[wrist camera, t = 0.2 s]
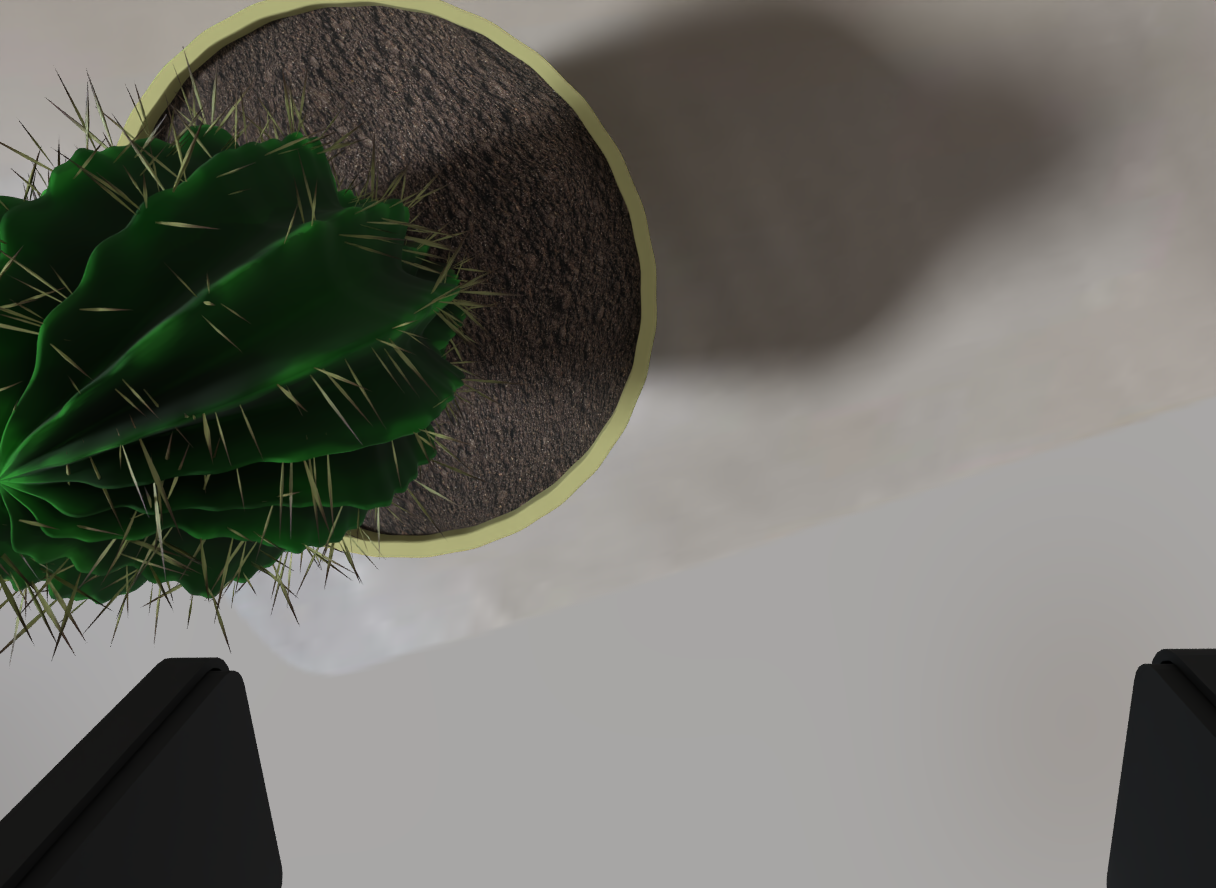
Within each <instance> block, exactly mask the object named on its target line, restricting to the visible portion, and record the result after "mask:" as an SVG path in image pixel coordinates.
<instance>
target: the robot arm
mask: <svg viewBox="0 0 1216 888" xmlns="http://www.w3.org/2000/svg"><path fill="white" fill-rule="evenodd" d="M281 886H282V865H281V860H280V856H279V851H278V846H277V841H276V836H275V831H274V826H273V821H272V818H271V812H270V807H269V802H268V797H267V792H266V788H265V783H264V778H263V773H262V768H261V763H260V758H259V754H258V749H257V744H256V739H255V734H254V729H253V724H252V719H251V715H250V710H249V705H248V700H247V695H246V691H245V685H244V682H243V679H242V677H241V675H240V674H239V673H238V672H236V671H229V668H228V666H227V664H226V663H225V662H224V660H222V659H220V658H218V657H217V658H167V659H164V660H163V661H161V662H160V663H158V664H157V665H156V666H155V667H154V668H153V669H152V670H151V671H150V672H149V673H148V674H147V675H146V677H144V678H143V679H142V680H141V681H140V682H139V683H138V684H137V685H136V686H135V687H134V688H133V689H132V690H131V691H130V692H129V693H128V694H127V695H126V696H125V697H124V698H123V699H122V700H121V701H120V702H119V703H118V704H117V705H116V706H115V707H114V708H113V709H112V710H111V711H110V712H109V713H108V714H107V715H106V716H105V717H104V718H103V719H102V720H101V721H100V722H99V723H98V724H97V725H96V726H95V727H94V728H93V729H92V730H91V731H90V732H89V733H88V734H87V735H86V736H85V737H84V738H83V739H82V740H81V741H80V742H79V743H78V744H77V745H76V746H75V747H74V748H73V749H72V750H71V751H70V752H69V753H68V754H67V755H66V756H65V757H64V758H63V759H62V760H61V761H60V762H59V763H58V764H57V765H56V766H55V767H54V768H53V769H52V770H51V771H50V772H49V773H48V774H47V775H46V776H45V777H44V778H43V779H42V780H41V781H40V782H39V783H38V784H37V785H36V786H35V787H34V788H33V789H32V790H31V791H30V792H29V793H28V794H27V795H26V796H25V797H24V798H23V799H22V800H21V801H20V802H19V803H18V804H17V805H16V806H15V807H14V808H13V809H12V810H11V811H10V812H9V813H8V814H7V815H6V816H5V817H4V818H3V819H2V820H1V821H0V888H281ZM1107 888H1216V649H1163V650H1161V651H1159V652H1157V654H1156V655H1155V657H1154V659H1153V661H1152V664H1143V665H1141V666H1139V668H1138V670H1137V671H1136V675H1135V679H1134V686H1133V694H1132V701H1131V707H1130V714H1129V721H1128V729H1127V736H1126V743H1125V750H1124V757H1123V765H1122V772H1121V779H1120V786H1119V794H1118V800H1117V808H1116V815H1115V822H1114V829H1113V836H1112V843H1111V850H1110V858H1109V865H1108V872H1107Z"/></svg>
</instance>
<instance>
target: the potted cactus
mask: <svg viewBox="0 0 1216 888" xmlns="http://www.w3.org/2000/svg"><path fill="white" fill-rule="evenodd" d="M86 71H87V70H86ZM56 72H57V71H56ZM57 74H58V73H57ZM87 74H88V73H87ZM58 76H59V74H58ZM59 78H60V76H59ZM88 78H89V75H88ZM60 80H61V78H60ZM89 81H90V84H91V88H92V91H93V94H94V98H95V101H96V104H97V107H96V108H97V109H98V111H99V114H100V117H101V119H102V122H103V124H104V127H105V129H106V132H107V134H108V137H109V139H110V142H111V144H112V140H111V137H110V134H109V130H108V127H107V124H106V120H105V117H104V115H105V116H107V115H106V114H104V113H103V111H102V108H101V106H100V103H99V101H98V98H97V96H96V93H95V91H94V88H93V85H92V83H91V80H90V78H89ZM61 82H62V80H61ZM62 84H63V82H62ZM63 86H64V84H63ZM135 86H136V85H135ZM64 88H65V90H66V92H67V94H68V96H69V98H70V100H71V102H72V104H73V106H74V108H75V111H76V113H77V115H78V117H79V119H80V121H81V123H82V125H83V126H82V125H81V124H79V123H78V122H77V121H75V120H74V119H73V118H72V117H70V116H69V115H68V114H66V113H65V112H64V111H62V110H61V109H60V108H59V107H57V106H56V105H55V104H53V103H52V102H51V101H50V102H51V103H52V104H53V105H54V106H55V107H57V108H58V109H59V110H60V111H61V112H62V113H63V114H64V115H66V116H67V117H68V118H69V119H70V120H71V121H72V122H73V123H75V124H76V125H77V126H78V127H79V128H80V129H81V130H82V131H84V132H85V133H86V148H87V149H86V148H79V149H78V148H77V149H78V150H76V151H75V153H74V155H73V156H72V157H71V159H69V158H67V157H66V156H64V155H63V156H64V157H66V158H67V159H68V161H67V162H66V161H65V163H64V164H61V165H60V154H61V153H60V148H59V146H58V151H57V152H58V166H57V167H54V170H52V169H50V168H48V167H46V166H45V165H43V164H41V163H39V162H38V157H39V153H40V150H41V151H42V153H43V154H44V155H45V153H44V152H43V150H42V149H41V148H40V146H39V145H38V143H37V142H36V141H35V140H34V138H33V137H32V136H31V135H30V133H29V132H28V131H27V130H26V128H25V127H24V126H23V125H22V126H23V127H24V128H25V130H26V131H27V133H28V134H29V135H30V137H31V138H32V140H33V141H34V142H35V144H36V145H37V146H38V148H39V149H40V150H39V153H38V156H37V159H36V160H34V159H33V158H31V157H29V156H27V155H25V154H23V153H21V152H19V151H17V150H15V149H13V148H11V147H9V146H7V145H5V144H3V143H1V142H0V144H2V145H3V146H5V147H7V148H9V149H10V150H12V151H14V152H16V153H18V154H19V155H21V156H23V157H25V158H26V159H28V160H30V161H31V162H34V163H35V164H33V165H34V167H33V170H32V172H31V175H30V178H29V181H28V182H27V181H26V180H25V179H24V178H22V177H21V176H20V175H19V174H17V173H16V172H15V171H14V170H13V171H14V172H15V173H16V174H17V175H18V176H19V177H20V178H22V179H23V180H24V181H25V182H26V183H27V184H28V185H27V189H26V190H25V187H24V190H25V196H24V200H23V199H19V198H15V197H9V196H0V583H1V587H0V590H1V588H3V590H4V592H5V594H6V597H7V600H6V601H4V602H3V603H2V604H1V605H0V609H1V608H2V607H3V606H4V605H5V604H6V603H7V602H8V601H9V602H10V604H11V606H12V607H13V609H14V611H15V612H16V614H17V616H18V617H17V621H16V627H15V633H14V638H13V639H12V640H11V641H10V642H9V643H8V644H7V645H6V646H5V647H4V648H3V649H2V650H1V651H0V653H2V652H3V651H4V650H5V649H6V648H7V647H9V645H11V644H12V643H13V646H12V652H13V647H14V642H15V640H17V638H19V637H20V636H21V635H22V634H23V633H24V632H27V633H28V635H29V637H30V639H31V636H30V634H29V632H28V629H29V628H30V627H31V626H32V625H33V624H34V623H35V622H36V621H37V620H38V619H39V618H40V617H41V616H42V618H43V620H44V622H45V624H46V625H47V627H48V629H49V631H50V633H51V635H52V636H53V634H52V631H51V629H50V627H49V625H48V622H47V620H46V618H45V616H44V613H45V612H47V614H48V615H49V617H50V618H51V620H52V621H53V623H54V624H55V626H56V627H57V629H58V630H59V632H60V633H59V636H58V640H57V643H56V647H55V651H56V648H57V646H58V643H59V641H60V638H61V635H62V636H63V638H64V639H65V641H66V642H67V644H68V645H69V647H70V648H71V646H70V644H69V642H68V640H67V638H66V637H65V635H64V633H63V630H64V627H65V625H66V622H67V620H68V617H69V618H70V619H71V621H72V622H73V624H74V625H75V627H76V628H77V629H78V631H79V632H80V634H81V635H82V633H81V631H80V630H79V628H78V626H77V624H76V622H75V621H74V619H73V617H72V615H71V613H73V611H75V610H76V609H77V608H78V607H80V606H81V605H82V604H83V603H84V602H85V601H86V600H87V599H91V600H92V601H94V602H95V603H96V604H100V605H102V606H103V604H102V603H105V602H107V601H109V600H110V602H109V603H108V604H107V605H106V606H104V607H105V608H104V609H103V610H102V611H101V613H100V614H99V615H98V616H97V617H96V619H97V618H98V617H99V616H100V615H101V614H102V612H103V611H104V610H105V609H106V608H107V607H108V606H109V605H110V604H111V603H112V601H113V600H114V599H115V598H116V597H117V596H118V595H122V594H126V595H125V598H124V600H123V603H122V605H121V608H122V609H121V608H120V610H121V611H119V613H120V614H119V613H118V614H119V617H118V621H117V624H116V628H115V632H116V629H117V626H118V623H119V620H120V617H121V613H122V610H123V606H124V603H125V600H126V598H127V610H128V594H129V593H130V592H132V591H135V590H137V589H138V588H139V587H140V586H142V585H143V584H144V583H145V582H146V581H147V580H148V581H149V582H152V583H154V584H156V583H157V584H158V585H159V587H160V589H159V595H158V597H157V598H156V599H154V600H152V601H151V598H152V591H151V597H150V602H149V603H150V605H151V602H153V601H155V600H157V599H158V601H157V611H156V625H155V634H156V627H157V619H158V611H159V604H160V598H161V597H163V596H165V597H166V599H167V601H168V603H169V604H170V602H169V600H168V598H167V594H169V593H170V594H171V592H173V591H175V590H177V589H178V588H180V587H182V586H183V587H184V588H185V589H186V590H187V591H188V592H189V593H190V594H191V595H200V596H203V597H206V598H208V600H209V598H213V601H214V605H215V609H216V615H217V616H218V620H219V623H220V626H221V628H222V631H223V634H224V636H225V639H226V642H227V644H228V640H227V636H226V633H225V629H224V625H223V622H222V619H221V616H220V614H219V611H218V607H219V603H220V598H221V594H222V590H223V589H224V588H225V587H226V586H227V585H228V584H229V583H230V584H231V583H232V581H233V580H234V581H237V585H238V582H239V583H244V584H245V583H246V582H248V583H249V585H250V586H251V588H252V589H253V587H252V585H251V583H250V581H249V579H250V578H251V577H252V576H253V575H254V574H255V573H256V572H257V571H258V570H260V571H262V572H264V573H266V574H268V575H270V576H271V577H272V578H273V579H274V580H275V582H274V587H275V583H276V581H277V582H278V586H277V590H276V595H275V599H274V603H275V600H276V596H277V593H278V589H279V586H281V588H282V591H283V593H284V595H285V598H286V600H287V605H288V604H289V606H290V608H291V610H292V612H293V614H294V616H295V618H296V615H295V613H294V610H293V606H292V604H291V602H290V599H289V596H288V595H289V591H290V590H289V585H290V576H291V570H292V569H291V563H292V553H295V554H299V553H301V562H302V555H303V551H304V550H305V549H307V550H308V552H309V553H310V555H311V556H312V554H311V552H312V553H314V555H313V556H312V559H311V561H310V564H309V566H308V569H307V571H306V573H305V576H304V578H303V580H302V583H303V581H304V579H305V577H306V575H307V573H308V571H309V569H310V567H311V564H312V562H313V560H314V561H315V559H314V558H315V556H316V558H317V557H319V558H320V559H321V560H323V561H324V562H326V563H327V564H328V567H327V574H326V580H327V576H328V572H329V568H330V566H332V567H333V568H335V569H336V570H337V571H339V570H338V569H337V568H336V567H334V566H333V565H332V564H331V562H333V563H335V564H337V565H339V566H341V567H343V566H342V565H340V564H338V563H336V562H335V561H333V560H332V556H333V551H334V549H335V550H337V551H340V550H341V551H340V552H342V551H344V552H343V553H345V555H346V557H347V559H348V561H349V563H350V564H351V566H352V568H353V569H354V571H355V574H356V576H357V578H358V577H359V576H358V574H357V572H356V570H355V567H354V564H353V561H352V558H353V556H352V558H351V555H350V553H349V552H352V553H357V554H361V555H365V556H366V557H367V556H373V557H379V560H380V557H409V558H423V557H432V556H438V555H443V554H448V553H454V552H460V551H466V550H471V549H474V548H478V547H481V546H483V545H486V544H488V543H491V542H493V541H496V540H498V539H501V538H504V537H506V536H509V535H512V534H514V533H516V532H518V531H520V530H522V529H524V528H526V527H527V526H529V525H530V524H532V523H533V522H535V521H536V520H538V519H540V518H541V517H543V516H544V515H546V514H548V513H549V512H551V511H552V510H554V509H556V508H557V507H558V506H560V505H561V504H562V503H564V502H565V501H566V500H567V499H568V498H569V497H570V496H571V495H572V494H573V493H574V492H575V491H576V490H577V489H578V488H579V487H580V486H581V485H582V484H583V483H584V482H585V481H586V480H587V479H588V478H589V477H591V476H592V475H593V474H594V472H595V471H596V470H597V469H598V468H599V467H600V465H601V464H602V462H603V461H604V459H605V458H606V456H607V455H608V453H609V452H610V450H611V449H612V447H613V446H614V444H615V443H616V441H617V440H618V439H619V437H620V436H621V434H622V433H623V431H624V429H625V428H626V426H627V424H628V422H629V419H630V417H631V414H632V412H633V409H634V407H635V404H636V402H637V399H638V397H639V395H640V393H641V390H642V388H643V385H644V383H645V380H646V376H647V373H648V368H649V362H650V356H651V350H652V346H653V341H654V336H655V331H656V323H657V303H656V264H655V258H654V253H653V249H652V244H651V240H650V235H649V230H648V224H647V219H646V215H645V211H644V208H643V205H642V202H641V200H640V197H639V195H638V193H637V190H636V188H635V186H634V184H633V181H632V179H631V176H630V174H629V171H628V169H627V166H626V164H625V161H624V159H623V157H622V155H621V153H620V151H619V149H618V148H617V146H616V145H615V143H614V142H613V140H612V139H611V137H610V136H609V134H608V133H607V131H606V130H605V129H604V127H603V126H602V124H601V123H600V121H599V119H598V118H597V116H596V115H595V113H594V112H593V110H592V109H591V107H590V106H589V104H588V103H587V102H586V100H585V99H584V98H583V97H582V96H581V95H580V94H579V93H578V92H577V91H576V90H575V89H574V88H573V87H572V86H571V85H570V84H569V83H568V82H567V81H566V80H565V79H564V78H563V77H562V76H561V75H560V74H559V73H558V72H557V71H556V70H555V69H554V68H553V67H552V66H551V65H550V64H549V63H548V62H547V61H546V60H545V59H544V58H543V57H542V56H541V55H539V54H538V53H537V52H535V51H534V50H533V49H531V48H530V47H528V46H526V45H525V44H523V43H522V42H520V41H519V40H517V39H516V38H514V37H513V36H511V35H510V34H508V33H507V32H506V31H504V30H503V29H501V28H500V27H498V26H497V25H495V24H494V23H492V22H490V21H488V20H486V19H484V18H482V17H480V16H478V15H475V14H472V13H470V12H467V11H465V10H462V9H460V8H457V7H455V6H452V5H450V4H448V3H446V2H443V1H441V0H265V1H262V2H259V3H256V4H253V5H251V6H249V7H247V8H245V9H243V10H241V11H240V12H238V13H236V14H234V15H233V16H231V17H229V18H227V19H225V20H223V21H221V22H219V23H218V24H216V25H214V26H212V27H210V28H209V29H207V30H205V31H204V32H203V33H201V34H200V35H199V36H198V37H196V38H195V39H194V40H193V41H192V42H191V43H190V44H189V45H188V46H187V47H186V48H185V49H184V48H183V50H182V51H181V52H180V53H179V54H178V55H177V56H175V57H174V58H173V59H172V60H171V61H170V62H169V63H168V64H166V65H165V66H164V68H163V69H162V70H161V71H160V72H159V73H158V75H157V76H156V77H155V79H154V80H153V82H152V83H151V85H150V86H149V88H148V89H147V91H146V92H145V93H144V95H143V96H142V98H141V99H140V97H139V94H138V91H137V94H138V99H139V102H138V103H137V104H136V106H135V103H134V101H133V99H132V97H131V95H130V97H131V99H132V101H133V104H134V106H135V107H134V109H133V110H132V112H131V114H130V116H129V118H128V120H127V122H126V124H125V126H124V128H122V126H121V125H120V124H119V122H118V121H117V120H116V121H117V123H118V124H117V123H116V122H115V121H113V120H112V119H111V118H110V117H108V116H107V117H108V118H109V119H110V120H111V121H112V122H113V123H115V124H116V125H117V126H118V127H119V128H120V129H121V130H122V134H121V136H120V139H119V141H118V144H117V146H113V144H112V146H111V144H110V143H109V141H108V139H107V138H106V136H105V139H106V140H107V142H108V144H109V146H110V147H109V148H108V147H107V146H106V145H105V144H104V143H103V142H104V141H103V142H101V141H100V140H99V139H98V138H97V137H96V136H94V135H93V134H92V133H91V132H90V131H89V99H88V82H87V100H86V119H85V123H84V121H83V119H82V117H81V115H80V113H79V111H78V110H77V108H76V106H75V104H74V102H73V100H72V98H71V97H70V95H69V93H68V91H67V89H66V87H65V86H64ZM127 90H128V89H127ZM136 90H137V88H136ZM128 92H129V91H128ZM129 94H130V93H129ZM45 98H46V97H45ZM46 99H47V98H46ZM112 115H113V114H112ZM114 118H115V117H114ZM115 119H116V118H115ZM19 122H20V121H19ZM20 123H21V122H20ZM21 124H22V123H21ZM85 125H86V126H85ZM104 135H105V134H104ZM88 138H90V140H91V142H92V144H93V146H94V143H93V141H92V139H93V140H95V141H96V142H97V143H99V144H100V145H99V146H98V148H97V149H96V148H95V146H94V148H95V151H93V150H89V149H88ZM91 138H92V139H91ZM105 139H104V140H105ZM74 145H75V144H74ZM100 146H103V147H104V148H105V150H104V151H101V152H99V151H97V150H98V149H99V147H100ZM51 148H52V147H51ZM54 150H55V149H54ZM61 155H62V154H61ZM45 156H46V155H45ZM46 158H47V159H48V157H47V156H46ZM48 160H49V159H48ZM49 161H50V160H49ZM50 163H51V162H50ZM37 164H38V165H40V166H42V167H44V168H46V169H48V187H47V189H46V190H44V191H43V193H42V194H41V193H40V192H38V191H37V189H36V187H35V185H34V181H35V177H34V173H35V175H36V172H35V169H36V170H37V168H36V165H37ZM51 164H52V163H51ZM52 165H53V164H52ZM49 170H50V171H52V173H51V176H50V179H49ZM37 171H38V170H37ZM38 173H39V172H38ZM39 175H40V173H39ZM28 176H29V175H28ZM40 176H41V175H40ZM33 177H34V181H33ZM41 178H42V176H41ZM42 180H43V178H42ZM32 181H33V182H32ZM43 181H44V180H43ZM31 183H33V185H32V184H31ZM44 183H45V181H44ZM23 184H24V183H23ZM45 184H46V183H45ZM46 186H47V185H46ZM30 187H31V188H32V190H31V195H30V200H31V196H32V192H33V196H34V200H32V201H28V197H27V194H28V192H29V189H30ZM34 187H35V188H34ZM34 190H35V191H37V193H38V195H39V197H40V198H38V199H37V198H36V195H35V192H34ZM40 194H41V196H40ZM308 546H314V547H317V549H316V551H315V550H314V547H313V549H312V548H310V547H308ZM319 547H325V549H324V551H323V554H324V552H325V553H326V551H327V548H330V553H329V558H328V557H326V556H325V554H324V555H323V554H321V553H319V552H317V551H318V549H319ZM309 550H310V551H311V552H310V551H309ZM285 551H286V552H287V554H286V557H285V561H284V564H283V563H281V558H282V553H283V552H285ZM345 551H346V552H345ZM288 552H291V558H290V566H289V567H287V566H286V565H285V563H286V559H287V555H288ZM280 556H281V557H280ZM279 557H280V561H278V560H277V559H278V558H279ZM324 558H325V559H327V560H328V561H327V560H325V559H324ZM367 558H368V557H367ZM368 559H369V558H368ZM317 560H318V558H317ZM321 560H320V561H321ZM369 560H370V559H369ZM385 560H386V559H385ZM276 561H277V562H279V565H278V568H277V570H276V568H275V566H274V563H275V562H276ZM370 561H371V560H370ZM315 562H316V561H315ZM318 562H319V560H318ZM371 562H372V561H371ZM316 563H317V562H316ZM280 564H282V565H283V567H282V570H281V574H280V576H279V574H278V572H279V568H280ZM272 565H273V567H274V570H275V572H276V577H275V576H274V575H273V574H271V573H270V572H269V571H268V570H266V569H265V568H267V567H270V566H272ZM317 565H318V564H317ZM319 565H320V563H319ZM319 565H318V566H319ZM285 566H286V567H287V568H289V574H288V588H287V587H286V586H285V585H284V584H283V583H282V581H281V579H282V575H283V571H284V567H285ZM320 567H321V566H320ZM320 567H319V568H320ZM375 567H376V566H375ZM343 568H345V567H343ZM376 568H377V567H376ZM262 569H263V570H262ZM317 569H318V568H317ZM345 569H347V568H345ZM264 570H265V571H266V572H265V571H264ZM300 570H301V564H300ZM347 570H348V569H347ZM260 571H259V572H260ZM349 571H350V570H349ZM339 572H340V573H342V572H341V571H339ZM351 572H352V571H351ZM353 573H354V572H353ZM342 574H343V573H342ZM343 575H344V574H343ZM345 576H346V575H345ZM346 577H347V576H346ZM277 578H278V579H277ZM349 579H350V578H349ZM359 579H360V578H359ZM359 579H358V580H359ZM350 580H351V579H350ZM6 581H11V583H12V586H13V589H14V590H15V591H16V592H15V593H14V594H11V592H10V590H9V589H8V587H7V585H6V583H5V582H6ZM39 581H46V583H45V584H44V585H43V586H42V588H41V589H40V590H38V589H37V587H36V586H35V583H37V582H39ZM169 581H177V582H179V583H180V584H179V585H177V586H175V587H173V588H172V589H170V585H169ZM360 581H361V580H360ZM163 582H167V585H168V588H169V591H167V592H165V591H164V589H163V586H162V583H163ZM227 582H228V583H227ZM226 583H227V584H226ZM302 583H301V585H302ZM359 583H360V582H359ZM225 584H226V585H225ZM230 584H229V585H228V587H229V586H230ZM244 584H243V585H244ZM325 584H326V581H325ZM237 585H236V589H237ZM243 585H242V586H243ZM301 585H300V587H301ZM30 586H31V587H32V588H33V589H34V590H35V592H36V595H34V592H33V591H32V590H31V588H30ZM242 586H241V587H240V588H239V589H238V590H240V589H241V588H242ZM27 587H28V590H29V592H30V594H31V596H32V600H31V601H30V602H29V603H27V601H26V596H27V595H26V594H27ZM45 587H47V590H45V591H47V596H48V591H49V594H50V596H51V598H53V599H55V601H53V602H52V603H51V604H50V605H48V604H47V602H46V601H45V599H44V598H43V596H42V595H41V593H40V592H44V591H42V590H43V589H44V588H45ZM228 587H227V589H228ZM274 587H273V591H274ZM234 588H235V584H234ZM285 588H286V589H287V590H288V594H287V591H286V589H285ZM324 588H325V587H324ZM24 589H25V590H24ZM227 589H226V590H227ZM299 589H300V588H299ZM21 590H22V591H23V590H24V593H25V597H24V593H23V594H22V591H21ZM18 591H20V594H21V595H22V596H23V597H22V601H21V606H20V609H18V607H17V605H16V602H15V600H14V598H13V596H14V595H15V594H16V593H17V592H18ZM161 591H162V592H163V594H162V595H160V594H161ZM253 591H254V589H253ZM298 591H299V590H298ZM225 592H226V591H225ZM225 592H224V593H225ZM254 592H255V591H254ZM290 592H291V591H290ZM219 593H220V594H219ZM235 593H236V592H235ZM291 593H292V592H291ZM297 593H298V592H297ZM218 594H219V600H218V604H217V602H216V600H215V598H214V596H217V595H218ZM236 594H237V593H236ZM255 594H256V593H255ZM272 594H273V592H272ZM292 594H293V593H292ZM37 595H38V597H39V599H40V601H41V603H42V605H43V607H44V610H43V611H42V609H41V607H40V604H39V603H38V601H37V599H36V596H37ZM223 595H224V594H223ZM293 595H294V594H293ZM233 596H234V590H233ZM171 597H172V594H171ZM23 598H24V599H25V608H24V609H25V612H26V607H27V606H29V604H30V603H31V602H32V601H34V603H35V605H36V607H37V609H38V611H39V613H40V614H39V615H37V616H36V617H35V618H34V619H33V620H32V621H31V622H30V623H28V624H27V625H25V623H24V621H23V618H22V616H21V609H22V603H23ZM47 598H48V597H47ZM62 598H70V600H69V603H68V606H66V604H65V602H64V600H63V599H62ZM192 598H193V597H192ZM271 598H272V597H271ZM295 598H296V597H295ZM297 598H298V597H297ZM84 599H86V600H85V601H84V602H82V603H81V604H80V605H79V606H77V607H76V608H75V609H74V610H73V611H72V612H71V608H72V604H73V601H74V600H75V601H79V600H84ZM298 599H299V598H298ZM57 600H58V602H59V603H60V605H61V606H62V608H63V609H64V611H65V615H64V618H63V620H62V621H63V622H62V626H61V627H60V625H59V623H58V622H57V620H56V618H55V616H54V614H53V612H52V610H51V608H50V607H51V606H52V605H53V604H54V603H55V602H56V601H57ZM232 602H233V597H232ZM26 603H27V604H28V605H27V606H26ZM149 603H147V604H149ZM216 604H217V606H216ZM170 606H171V605H170ZM273 607H274V604H273ZM149 608H150V607H149ZM171 608H172V607H171ZM191 608H192V600H191V605H190V609H189V618H190V614H191ZM108 609H109V608H108ZM272 610H273V608H272ZM23 611H24V610H23ZM23 611H22V612H23ZM70 612H71V613H70ZM25 614H26V613H25ZM271 614H272V612H271ZM189 618H188V623H189ZM96 619H95V620H96ZM19 620H20V621H21V623H22V625H23V627H24V628H23V629H22V630H21V631H20V632H19V633H18V634H17V635H16V633H17V628H18V624H19ZM95 620H94V621H95ZM296 620H297V618H296ZM297 622H298V621H297ZM92 624H93V622H92ZM92 624H91V625H92ZM298 624H299V623H298ZM91 625H90V626H91ZM90 626H89V627H90ZM89 627H88V628H89ZM115 632H114V635H115ZM114 635H113V636H114ZM82 637H83V635H82ZM53 638H54V636H53ZM83 638H84V637H83ZM113 638H114V637H113ZM54 640H55V638H54ZM84 640H85V639H84ZM31 641H32V639H31ZM55 641H56V640H55ZM228 647H229V644H228ZM229 649H230V648H229ZM71 650H72V648H71ZM55 651H54V653H55ZM73 653H74V652H73ZM11 656H12V653H11ZM53 656H54V655H53ZM10 661H11V660H10Z"/></svg>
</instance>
